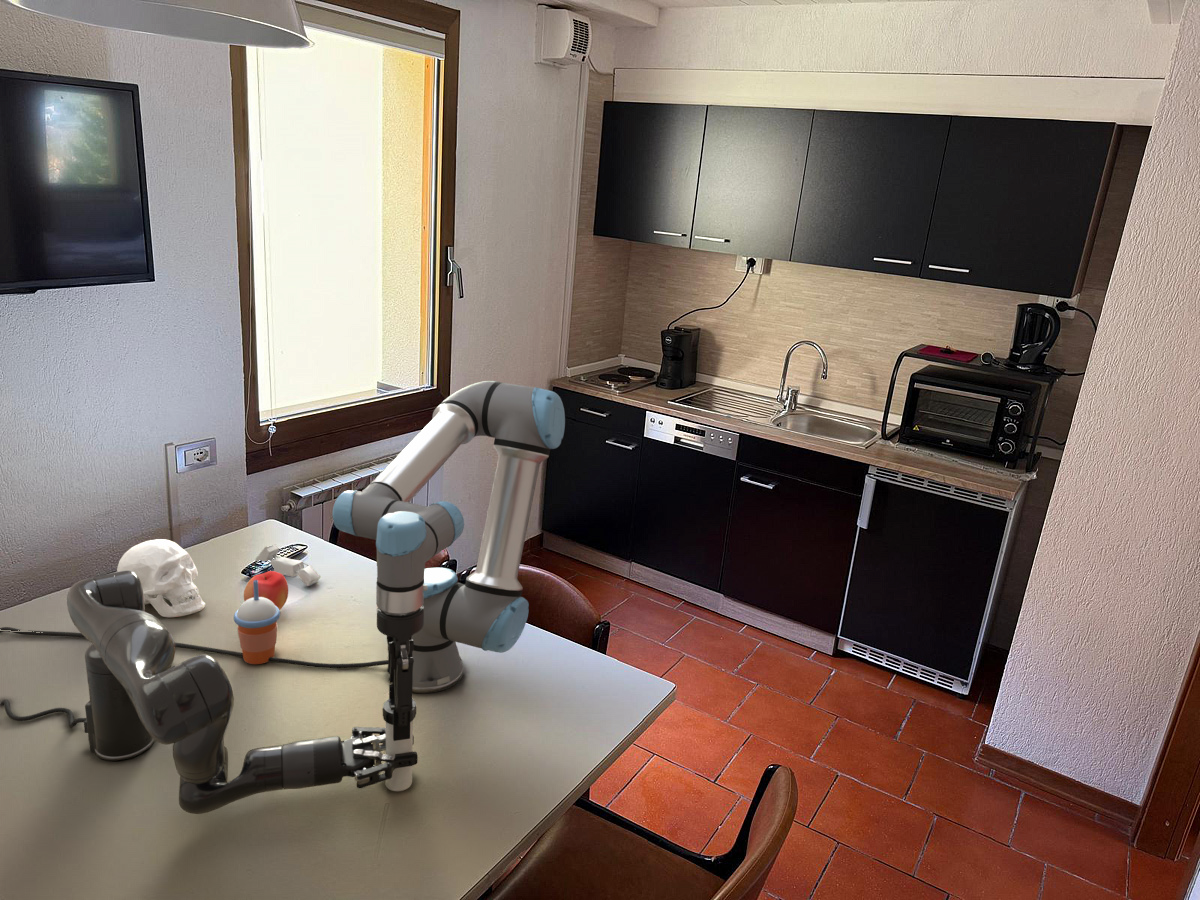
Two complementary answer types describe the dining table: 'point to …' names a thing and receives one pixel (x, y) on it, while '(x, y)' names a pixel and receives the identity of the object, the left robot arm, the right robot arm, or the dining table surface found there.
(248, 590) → the apple
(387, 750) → the jar
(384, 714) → the lid
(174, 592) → the skull
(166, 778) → the dining table surface
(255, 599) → the cup with straw
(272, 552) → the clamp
